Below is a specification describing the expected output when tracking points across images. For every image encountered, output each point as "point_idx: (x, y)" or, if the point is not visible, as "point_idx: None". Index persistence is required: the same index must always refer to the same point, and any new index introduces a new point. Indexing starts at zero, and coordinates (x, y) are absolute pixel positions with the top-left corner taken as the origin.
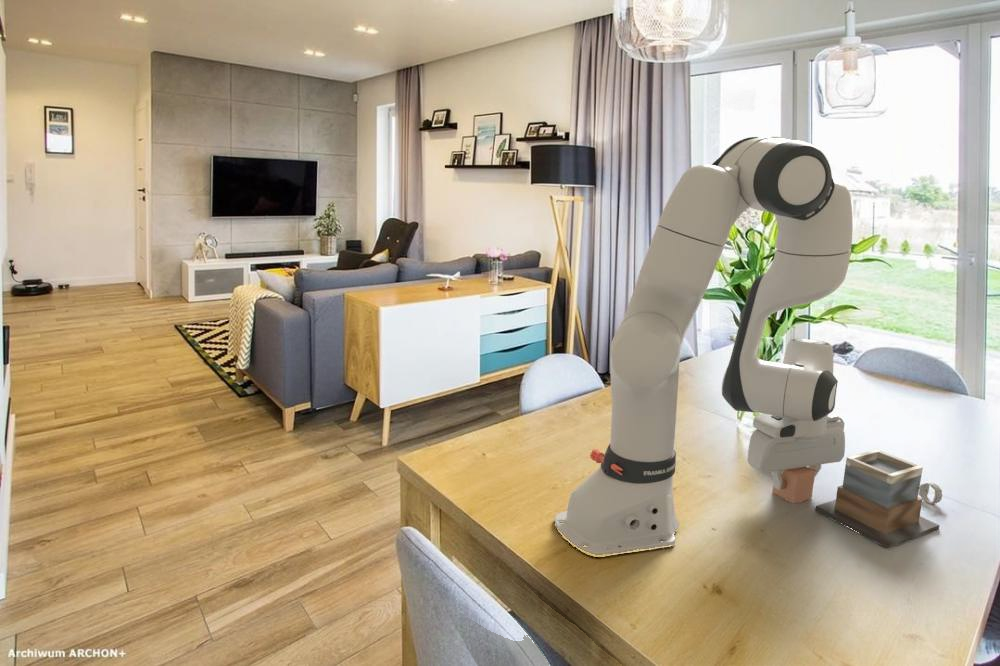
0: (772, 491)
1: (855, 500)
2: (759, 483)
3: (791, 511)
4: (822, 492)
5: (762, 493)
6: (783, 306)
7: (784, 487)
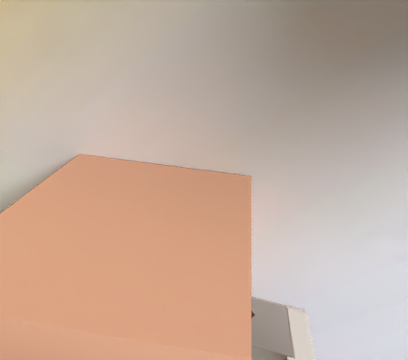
0: (75, 157)
1: None
2: (99, 6)
3: None
4: (365, 310)
5: (8, 127)
6: None
7: None
